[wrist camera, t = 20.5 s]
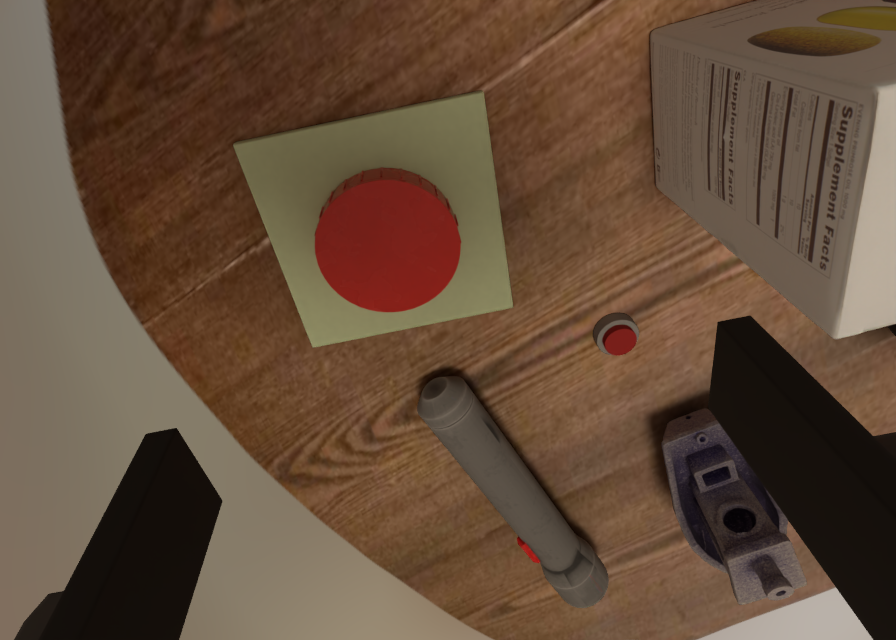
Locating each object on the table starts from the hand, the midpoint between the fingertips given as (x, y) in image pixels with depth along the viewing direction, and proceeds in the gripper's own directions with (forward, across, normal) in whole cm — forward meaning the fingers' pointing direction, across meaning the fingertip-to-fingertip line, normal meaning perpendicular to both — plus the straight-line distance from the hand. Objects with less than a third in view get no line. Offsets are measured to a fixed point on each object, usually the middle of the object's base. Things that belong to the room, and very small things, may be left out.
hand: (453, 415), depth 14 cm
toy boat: (+22, +18, -30) cm, 41 cm away
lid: (+19, -3, -4) cm, 20 cm away
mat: (+22, -3, -4) cm, 22 cm away
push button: (+22, +11, -15) cm, 29 cm away
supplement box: (+22, +18, 0) cm, 29 cm away
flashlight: (+22, +2, -29) cm, 36 cm away
